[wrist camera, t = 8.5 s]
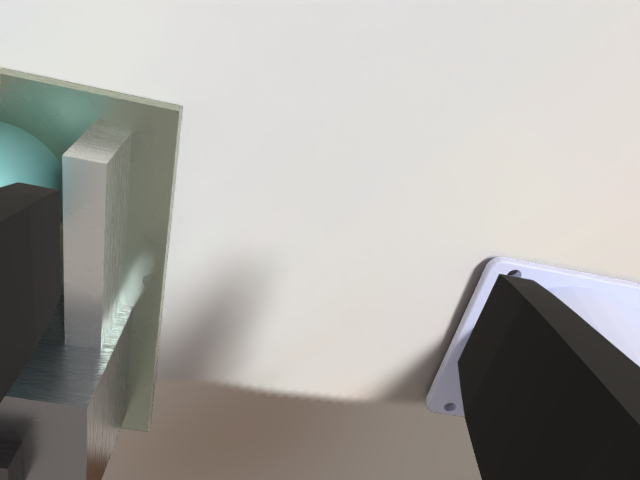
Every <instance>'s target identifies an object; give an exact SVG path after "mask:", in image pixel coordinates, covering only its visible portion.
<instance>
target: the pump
mask: <svg viewBox="0 0 640 480" xmlns="http://www.w3.org/2000/svg"><path fill="white" fill-rule="evenodd" d="M17 182H20V183H25V184H31V185H36V186H41V187H46V188H52V189H57V190H59V196H60V224H61V223H62V222H63V180H62V165H61V164H60V162H59V160H58V159H57V158H56V156H55V155H54V154H53V153H52V152H51V151H50V149H49V148H48V147H47V146H46V145H44V144H43V143H42V142H41V141H40V140H39V139H37V138H36V137H34V136H33V135H31V134H30V133H28V132H26V131H24V130H23V129H21V128H18V127H16V126H14V125H11V124H8V123H5V122H1V121H0V187H3V186H7V185H10V184H14V183H17Z"/></svg>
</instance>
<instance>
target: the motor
mask: <svg viewBox="0 0 640 480" xmlns="http://www.w3.org/2000/svg"><path fill="white" fill-rule="evenodd" d="M182 108H183V106H180V105H175V104H170V103H166V102H161V101H156V100H151V99H147V98H142V97H137V96H133V95H128V94H123V93H118V92H114V91H109V90H104V89H100V88H95V87H90V86H85V85H81V84H76V83H71V82H67V81H62V80H57V79H52V78H48V77H43V76H38V75H34V74H29V73H24V72H19V71H15V70H10V69H5V68H0V121H1V122H5V123H8V124H11V125H14V126H16V127H18V128H21V129H23V130H24V131H26V132H28V133H30V134H31V135H33V136H34V137H36V138H37V139H39V140H40V141H41V142H42V143H43V144H44V145H46V146H47V147H48V148H49V149H50V151H51V152H52V153H53V154H54V155H55V156H56V158H57V159H58V160H59V162H60V164H61V165H62V180H63V222H62V223H61V224H60V256H61V296H60V299H59V301H58V303H57V305H56V307H55V310H54V312H53V314H52V316H51V318H50V321H49V323H48V325H47V327H46V329H45V331H44V333H43V335H42V337H41V339H40V341H39V343H38V345H37V347H36V349H35V351H34V352H33V354H32V355H31V357H30V358H29V360H28V362H27V363H26V365H25V366H24V368H23V369H22V371H21V372H20V374H19V375H18V377H17V379H16V380H15V382H14V383H13V385H12V386H11V388H10V389H9V391H8V392H7V394H6V395H5V397H4V398H3V400H2V401H1V403H0V480H102V477H103V475H104V472H105V469H106V467H107V464H108V461H109V459H110V456H111V453H112V450H113V448H114V445H115V442H116V440H117V437H118V434H119V432H120V429H121V428H123V429H130V430H137V431H144V432H148V431H149V428H150V424H151V417H152V407H153V397H154V387H155V377H156V367H157V358H158V348H159V338H160V328H161V318H162V308H163V298H164V288H165V278H166V268H167V258H168V248H169V238H170V228H171V218H172V208H173V198H174V188H175V178H176V168H177V158H178V148H179V138H180V128H181V118H182Z"/></svg>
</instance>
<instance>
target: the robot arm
mask: <svg viewBox="0 0 640 480" xmlns="http://www.w3.org/2000/svg"><path fill="white" fill-rule="evenodd" d="M512 270H518V271H517V272H516V274H514V275H507V274H508V273H509V272H510V271H512ZM60 296H61V256H60V196H59V190H57V189H52V188H46V187H41V186H36V185H31V184H25V183H20V182H17V183H14V184H10V185H7V186H3V187H0V403H1V401H2V400H3V398H4V397H5V395H6V394H7V392H8V391H9V389H10V388H11V386H12V385H13V383H14V382H15V380H16V379H17V377H18V375H19V374H20V372H21V371H22V369H23V368H24V366H25V365H26V363H27V362H28V360H29V358H30V357H31V355H32V354H33V352H34V351H35V349H36V347H37V345H38V343H39V341H40V339H41V337H42V335H43V333H44V331H45V329H46V327H47V325H48V323H49V321H50V318H51V316H52V314H53V312H54V310H55V307H56V305H57V303H58V301H59V299H60ZM447 403H451V404H447ZM426 404H427V407H428V409H429V410H430V411H432V412H435V413H443V414H448V415H454V416H461V417H465V419H466V423H467V427H468V431H469V435H470V438H471V442H472V446H473V449H474V453H475V457H476V460H477V464H478V467H479V471H480V474H481V478H482V480H640V283H636V282H631V281H626V280H621V279H616V278H610V277H605V276H600V275H595V274H590V273H585V272H580V271H574V270H569V269H564V268H559V267H554V266H549V265H543V264H538V263H533V262H528V261H523V260H518V259H513V258H507V257H496V258H493V259H492V260H490V261H489V262H488V263H487V265H486V267H485V269H484V271H483V273H482V275H481V278H480V280H479V282H478V284H477V286H476V289H475V291H474V293H473V295H472V297H471V300H470V302H469V304H468V306H467V308H466V311H465V313H464V315H463V317H462V320H461V322H460V324H459V326H458V328H457V331H456V333H455V335H454V337H453V339H452V342H451V344H450V346H449V348H448V350H447V353H446V355H445V357H444V359H443V361H442V364H441V366H440V368H439V370H438V373H437V375H436V377H435V379H434V381H433V384H432V386H431V388H430V390H429V392H428V395H427V397H426Z"/></svg>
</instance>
